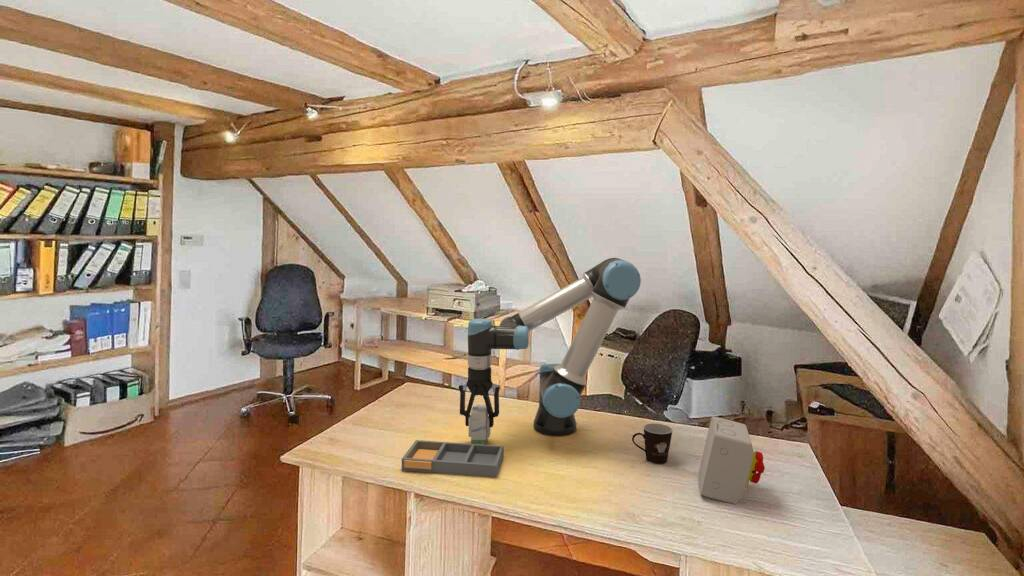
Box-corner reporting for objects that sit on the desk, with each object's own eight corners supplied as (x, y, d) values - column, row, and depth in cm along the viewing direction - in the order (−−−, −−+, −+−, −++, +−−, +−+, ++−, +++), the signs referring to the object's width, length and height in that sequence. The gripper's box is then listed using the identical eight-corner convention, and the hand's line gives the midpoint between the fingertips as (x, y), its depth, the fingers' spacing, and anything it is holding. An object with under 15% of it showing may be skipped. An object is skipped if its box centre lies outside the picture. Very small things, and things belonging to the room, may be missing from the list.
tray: (503, 456, 172) (503, 445, 172) (496, 478, 158) (496, 466, 157) (416, 450, 176) (416, 440, 175) (401, 471, 161) (400, 459, 161)
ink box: (473, 437, 187) (472, 403, 185) (488, 437, 186) (488, 403, 185) (470, 448, 178) (469, 412, 177) (486, 448, 178) (485, 412, 176)
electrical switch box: (758, 516, 144) (777, 445, 140) (699, 499, 148) (715, 429, 144) (752, 490, 157) (768, 425, 154) (697, 475, 161) (712, 411, 158)
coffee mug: (671, 456, 174) (673, 425, 173) (669, 467, 166) (671, 435, 165) (634, 450, 178) (635, 420, 177) (630, 461, 170) (631, 430, 169)
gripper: (449, 368, 176) (449, 438, 179) (506, 371, 174) (505, 442, 177) (454, 362, 184) (454, 429, 187) (509, 365, 181) (508, 433, 184)
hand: (479, 435), depth 182 cm, fingers closed on ink box, 5 cm apart
